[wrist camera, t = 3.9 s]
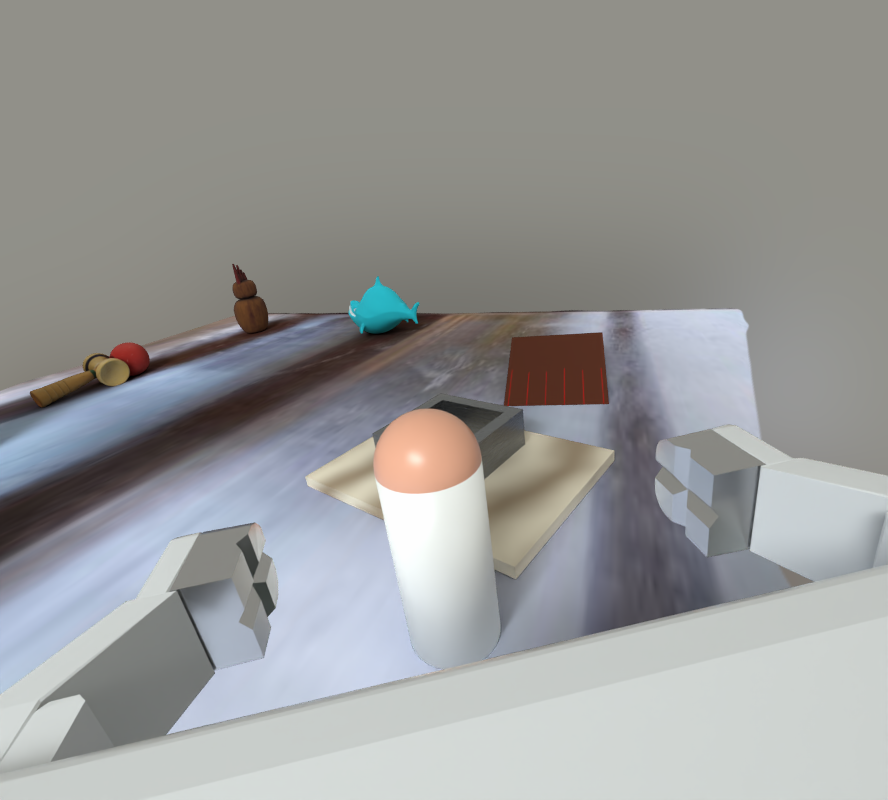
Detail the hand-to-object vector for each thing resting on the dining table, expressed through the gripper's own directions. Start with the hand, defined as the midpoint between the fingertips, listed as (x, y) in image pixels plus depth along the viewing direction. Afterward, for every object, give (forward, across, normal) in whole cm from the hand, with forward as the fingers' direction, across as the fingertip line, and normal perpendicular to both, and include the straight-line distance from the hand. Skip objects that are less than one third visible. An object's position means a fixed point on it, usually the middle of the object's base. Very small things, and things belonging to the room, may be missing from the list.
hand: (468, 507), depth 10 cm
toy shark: (+82, +2, +16) cm, 83 cm away
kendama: (+78, +52, +16) cm, 95 cm away
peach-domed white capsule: (+12, 0, +17) cm, 21 cm away
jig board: (+28, -2, +17) cm, 33 cm away
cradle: (+30, -2, +16) cm, 34 cm away
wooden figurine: (+103, +30, +16) cm, 108 cm away
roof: (+50, -20, +17) cm, 56 cm away
